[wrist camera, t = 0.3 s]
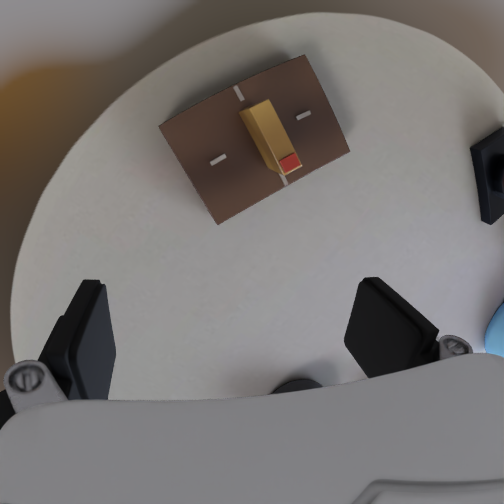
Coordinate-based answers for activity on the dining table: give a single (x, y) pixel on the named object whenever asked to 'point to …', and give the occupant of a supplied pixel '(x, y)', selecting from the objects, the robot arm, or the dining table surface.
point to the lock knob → (270, 137)
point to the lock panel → (242, 144)
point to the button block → (490, 175)
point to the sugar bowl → (495, 333)
